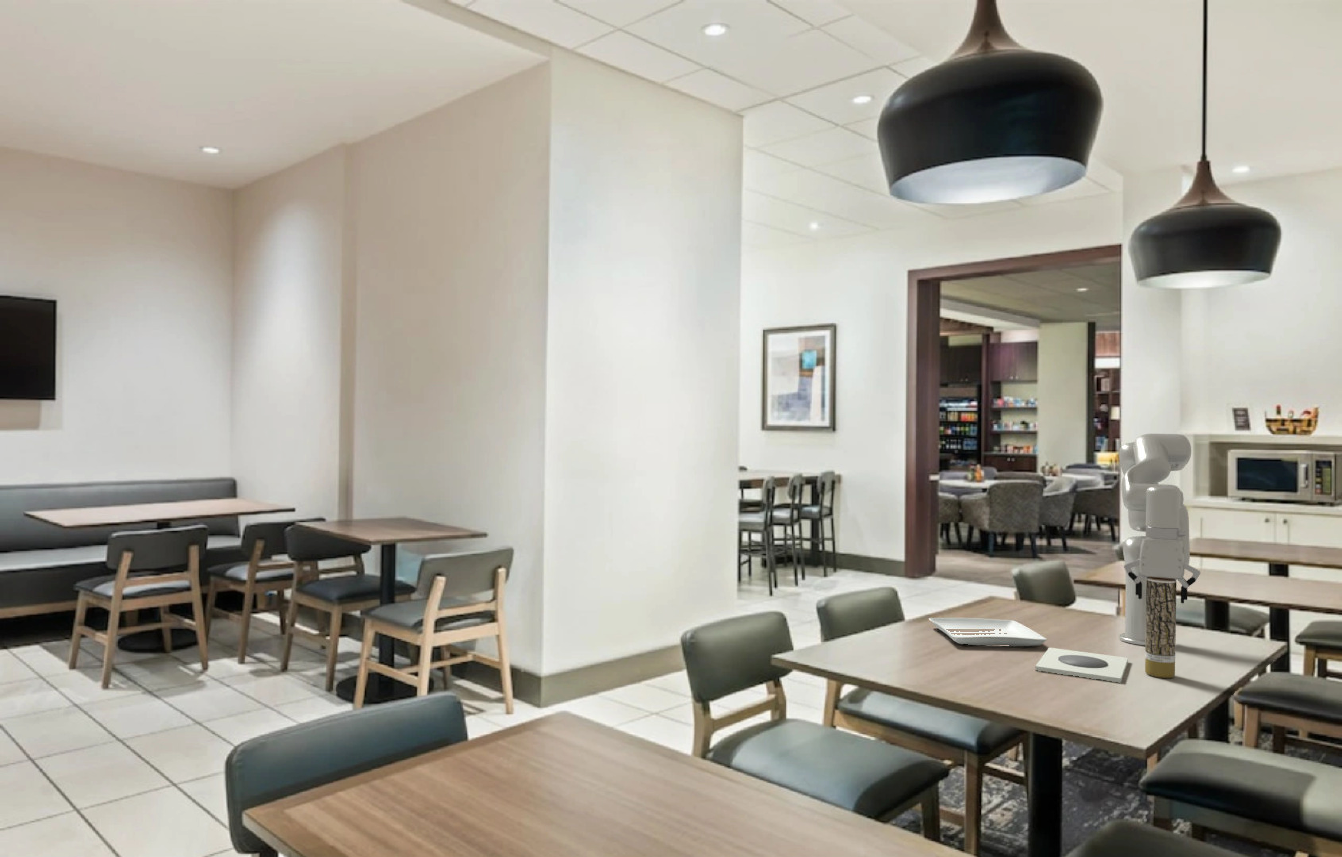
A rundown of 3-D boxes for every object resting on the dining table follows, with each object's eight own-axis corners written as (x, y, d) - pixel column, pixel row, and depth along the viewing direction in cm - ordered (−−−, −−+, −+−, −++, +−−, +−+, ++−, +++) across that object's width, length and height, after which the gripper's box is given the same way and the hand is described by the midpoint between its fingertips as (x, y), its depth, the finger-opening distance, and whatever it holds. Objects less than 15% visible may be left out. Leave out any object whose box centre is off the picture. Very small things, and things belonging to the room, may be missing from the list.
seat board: (1049, 651, 251) (1049, 646, 251) (1127, 662, 241) (1128, 656, 241) (1035, 670, 230) (1035, 665, 230) (1120, 683, 220) (1121, 677, 220)
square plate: (1048, 651, 253) (1048, 638, 253) (952, 649, 253) (953, 636, 254) (1013, 630, 280) (1014, 617, 280) (927, 628, 281) (927, 616, 281)
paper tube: (1179, 680, 224) (1180, 581, 224) (1149, 678, 225) (1151, 580, 225) (1169, 672, 231) (1171, 577, 231) (1141, 671, 232) (1142, 576, 232)
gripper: (1201, 535, 227) (1200, 602, 227) (1125, 530, 236) (1124, 594, 236) (1201, 538, 220) (1200, 606, 220) (1123, 533, 229) (1122, 598, 229)
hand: (1161, 600), depth 228 cm, fingers open, 9 cm apart
